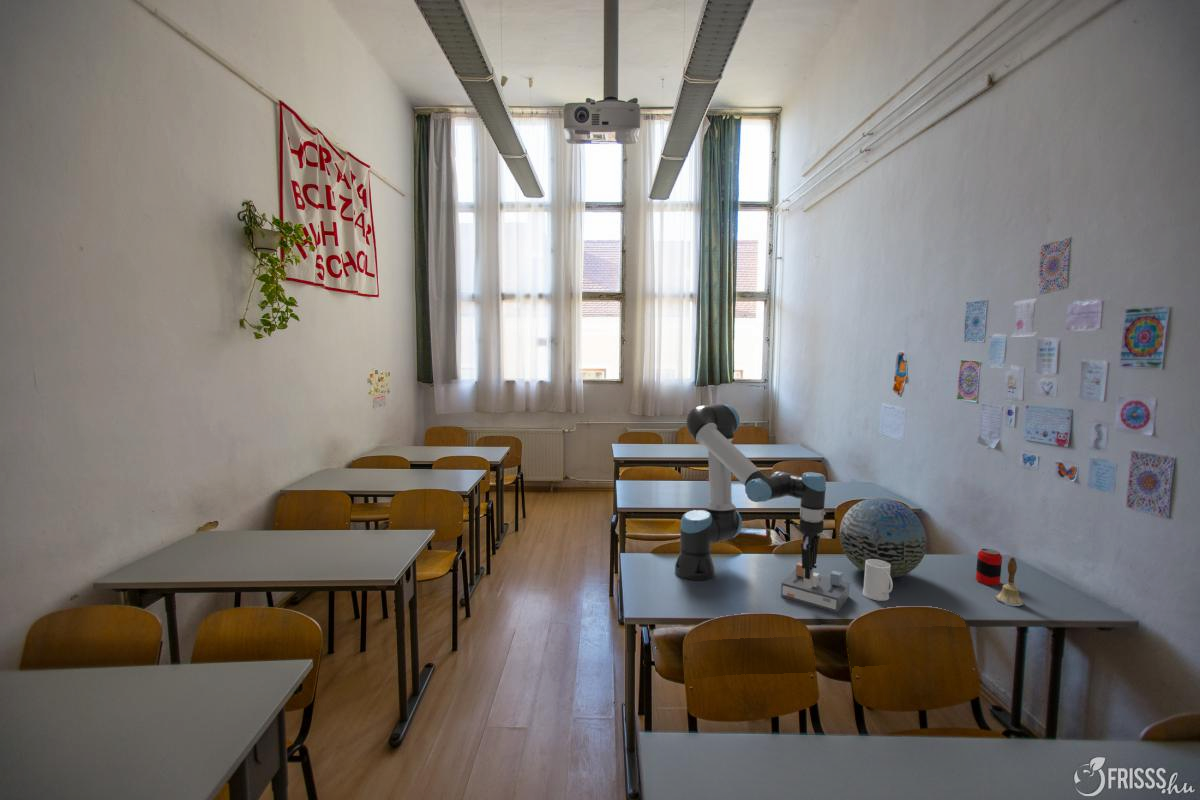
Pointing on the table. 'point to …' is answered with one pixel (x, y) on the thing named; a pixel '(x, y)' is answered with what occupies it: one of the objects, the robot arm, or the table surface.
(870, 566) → the mug
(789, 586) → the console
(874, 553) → the decorative globe
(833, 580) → the block
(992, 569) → the soda can
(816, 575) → the slider ivory
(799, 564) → the slider terracotta
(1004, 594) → the hand bell
